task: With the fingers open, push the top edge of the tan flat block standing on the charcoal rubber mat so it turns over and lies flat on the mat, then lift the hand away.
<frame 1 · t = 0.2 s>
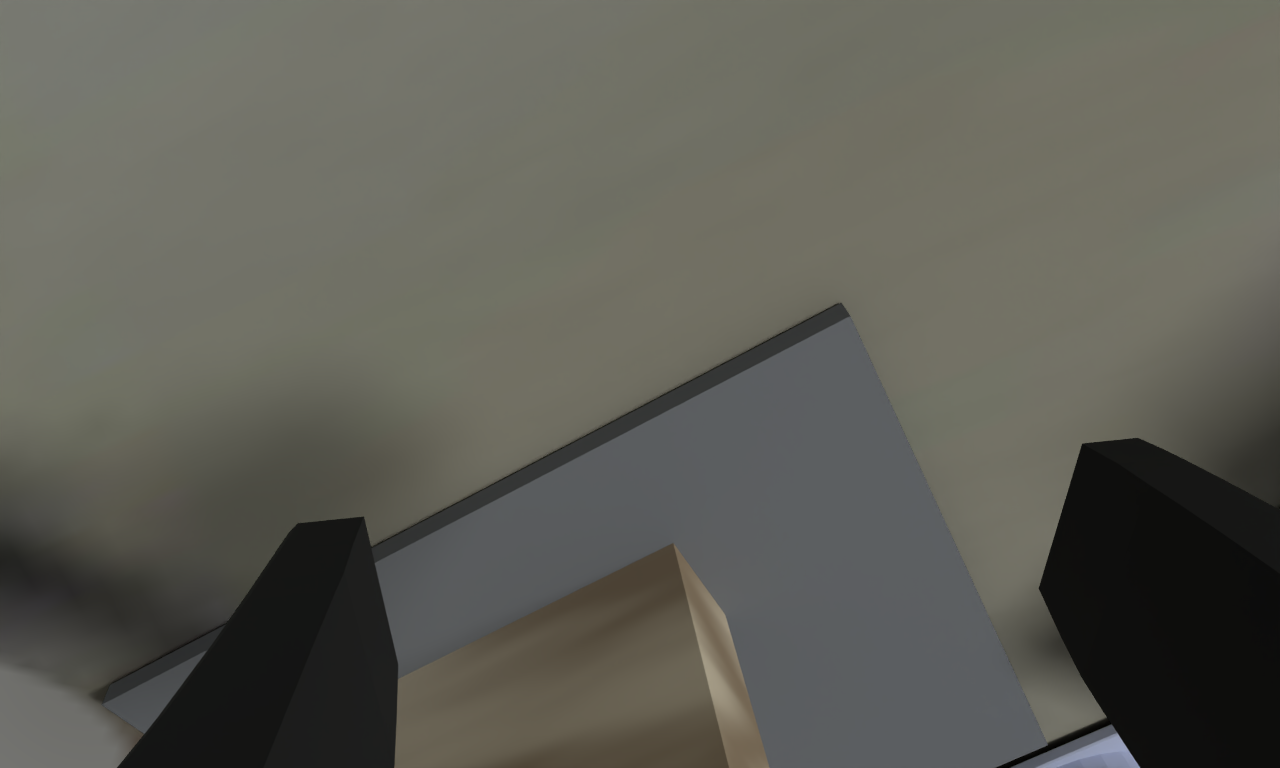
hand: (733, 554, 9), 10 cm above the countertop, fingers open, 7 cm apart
tan flat block: (561, 647, 24), point 1 cm above the countertop, touching mat
mat: (632, 709, 26), on the countertop
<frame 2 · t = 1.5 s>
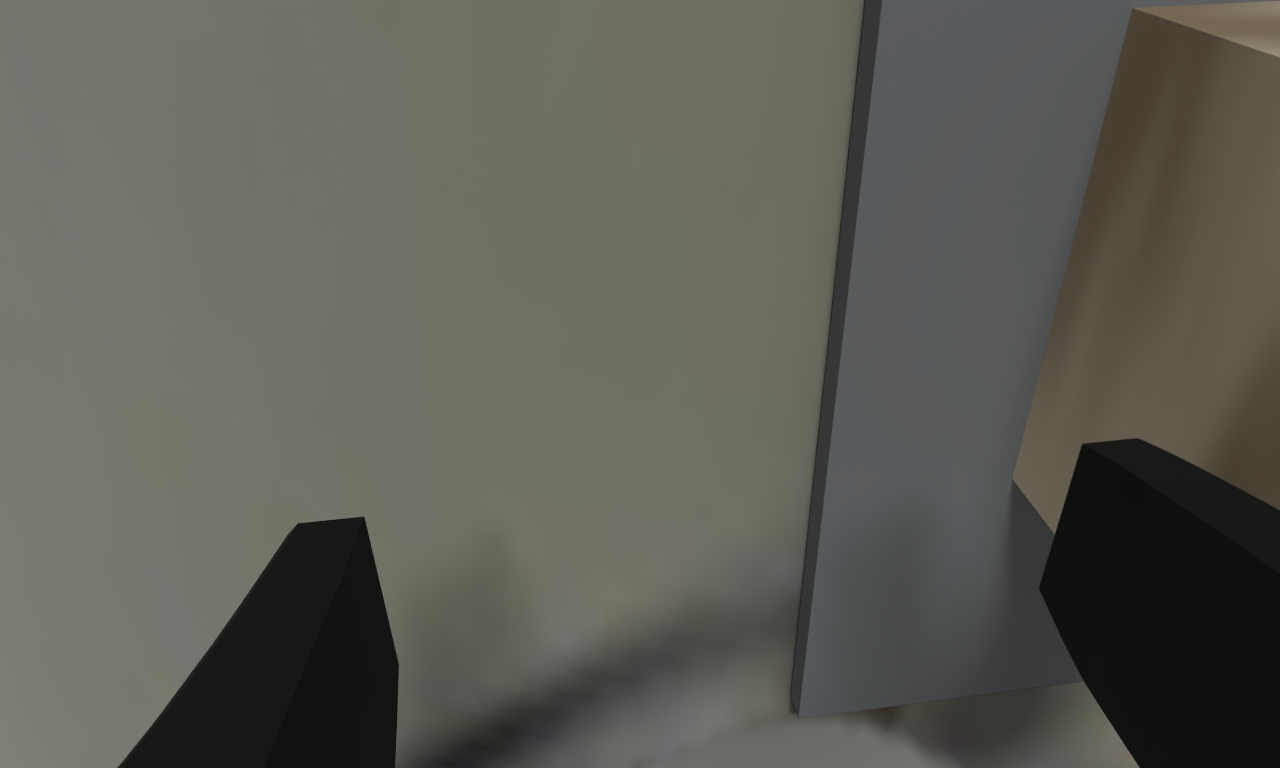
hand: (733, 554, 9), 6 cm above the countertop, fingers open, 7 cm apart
tan flat block: (1152, 271, 15), point 1 cm above the countertop, touching mat
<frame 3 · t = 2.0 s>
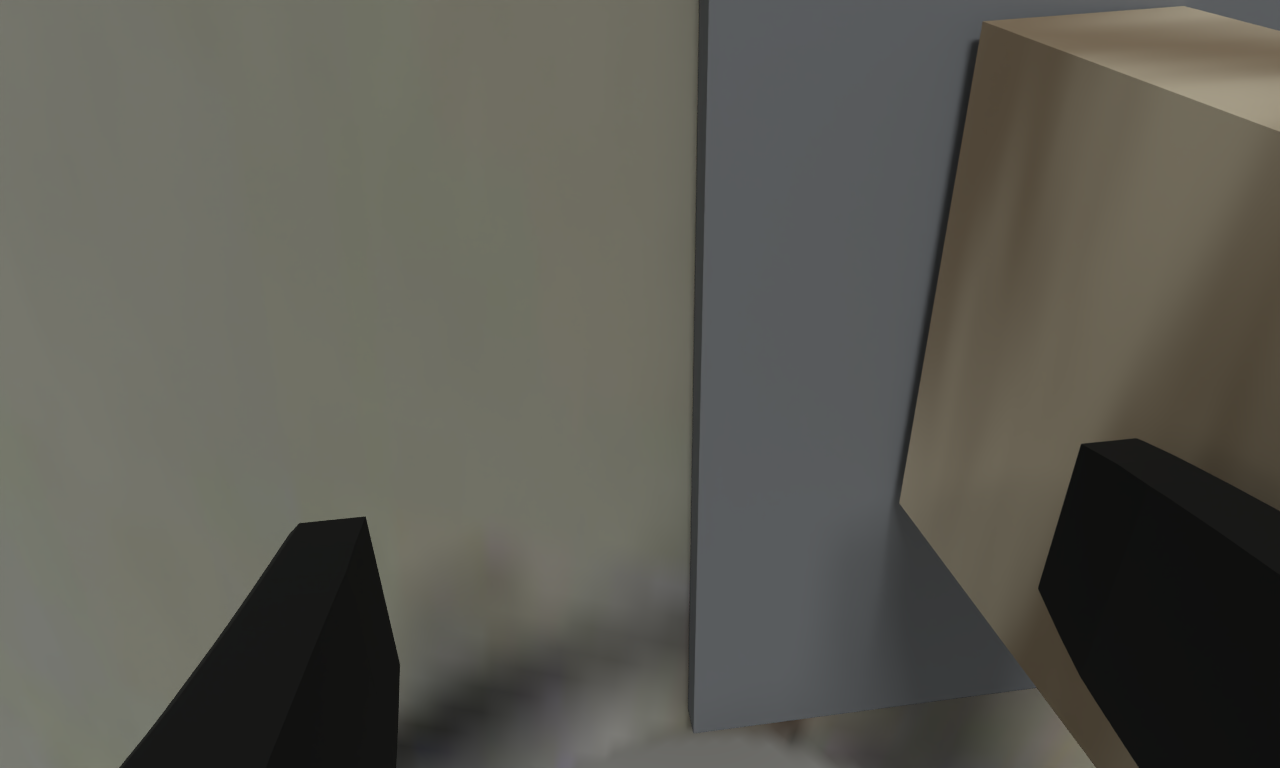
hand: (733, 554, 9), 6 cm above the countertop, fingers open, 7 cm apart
tan flat block: (1022, 287, 14), point 1 cm above the countertop, tilted 6°, touching mat
mat: (1228, 247, 15), on the countertop
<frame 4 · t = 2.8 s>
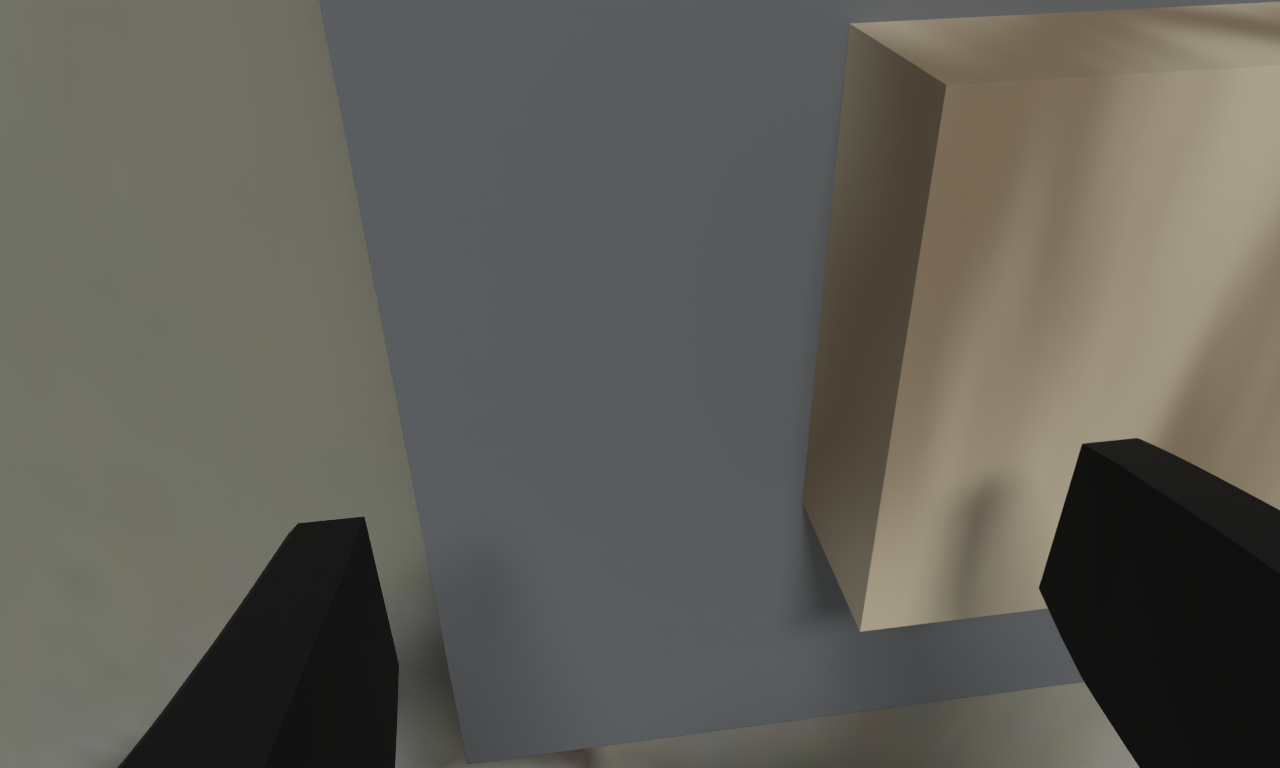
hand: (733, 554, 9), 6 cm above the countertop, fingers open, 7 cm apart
tan flat block: (855, 349, 13), point 2 cm above the countertop, tilted 90°, touching mat
mat: (959, 270, 15), on the countertop
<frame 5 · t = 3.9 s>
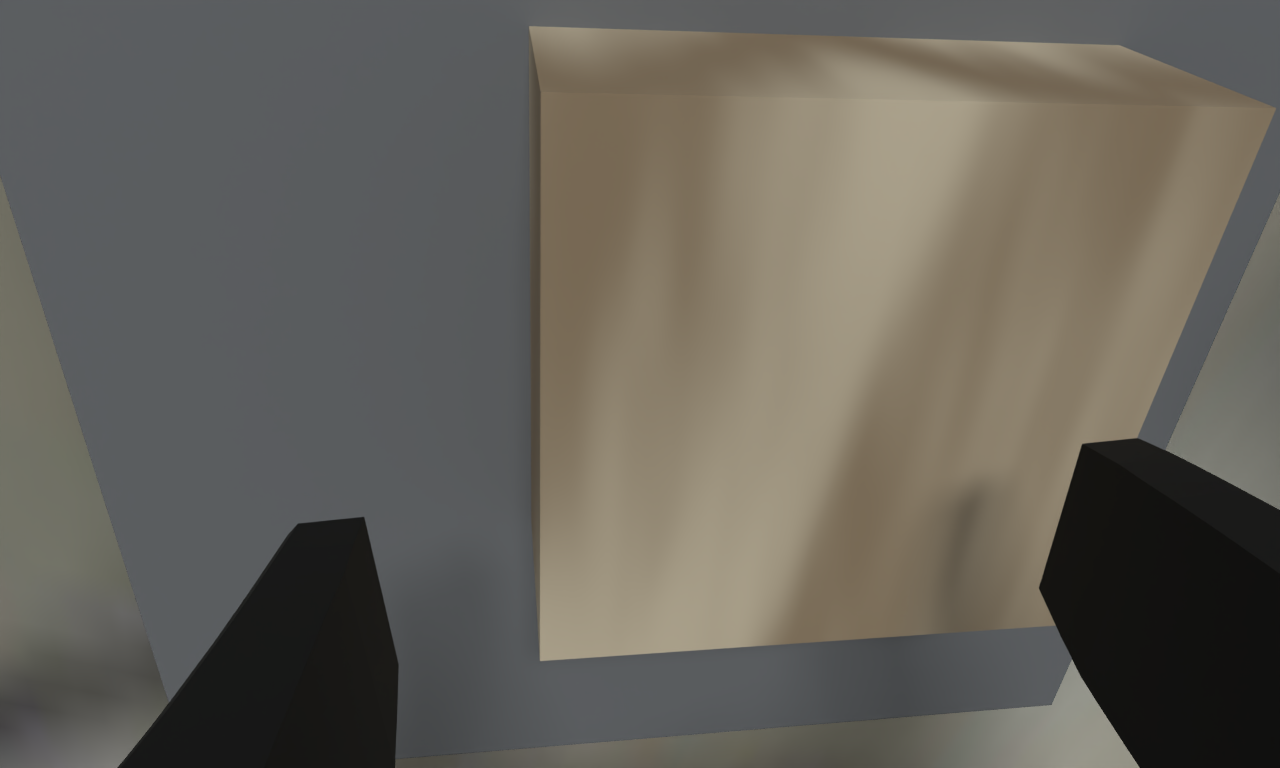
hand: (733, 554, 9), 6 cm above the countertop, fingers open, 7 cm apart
tan flat block: (534, 366, 12), point 2 cm above the countertop, tilted 90°, touching mat
mat: (687, 292, 14), on the countertop
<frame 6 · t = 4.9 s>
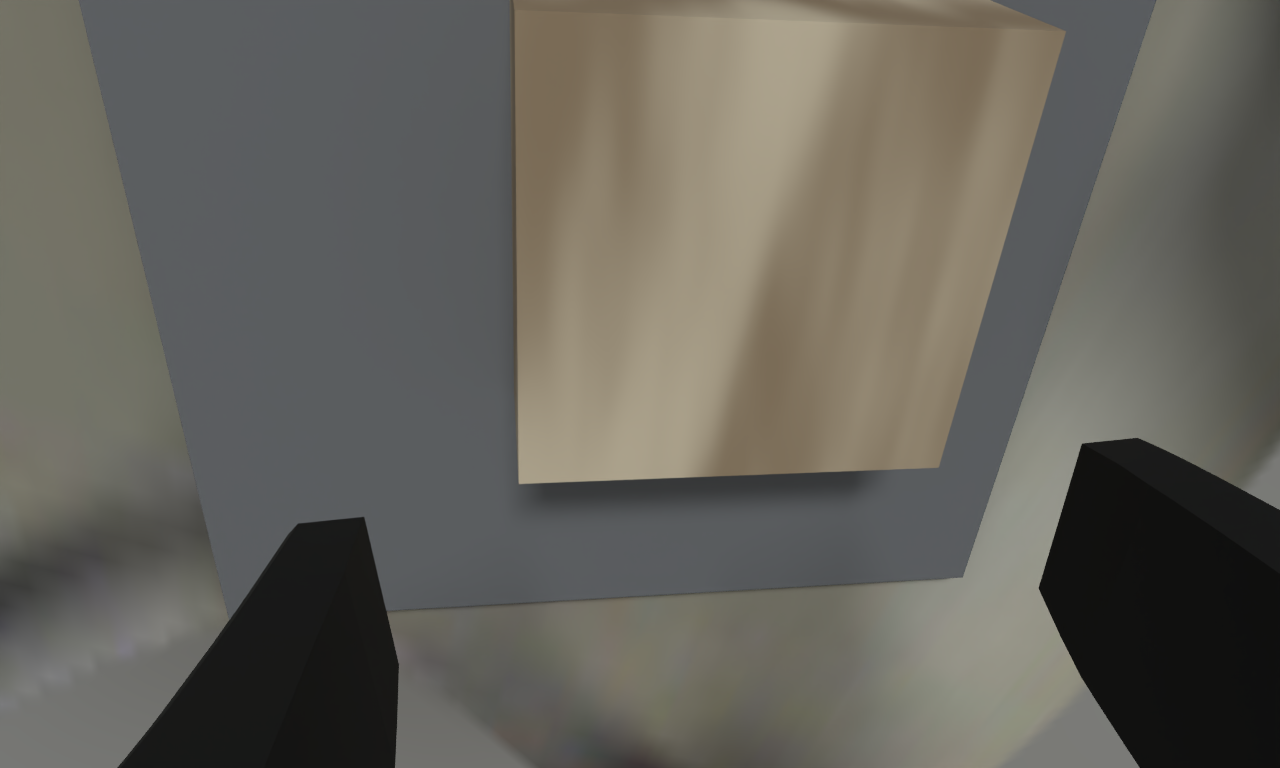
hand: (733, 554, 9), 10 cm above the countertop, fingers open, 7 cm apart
tan flat block: (514, 242, 16), point 2 cm above the countertop, tilted 90°, touching mat
mat: (640, 198, 18), on the countertop
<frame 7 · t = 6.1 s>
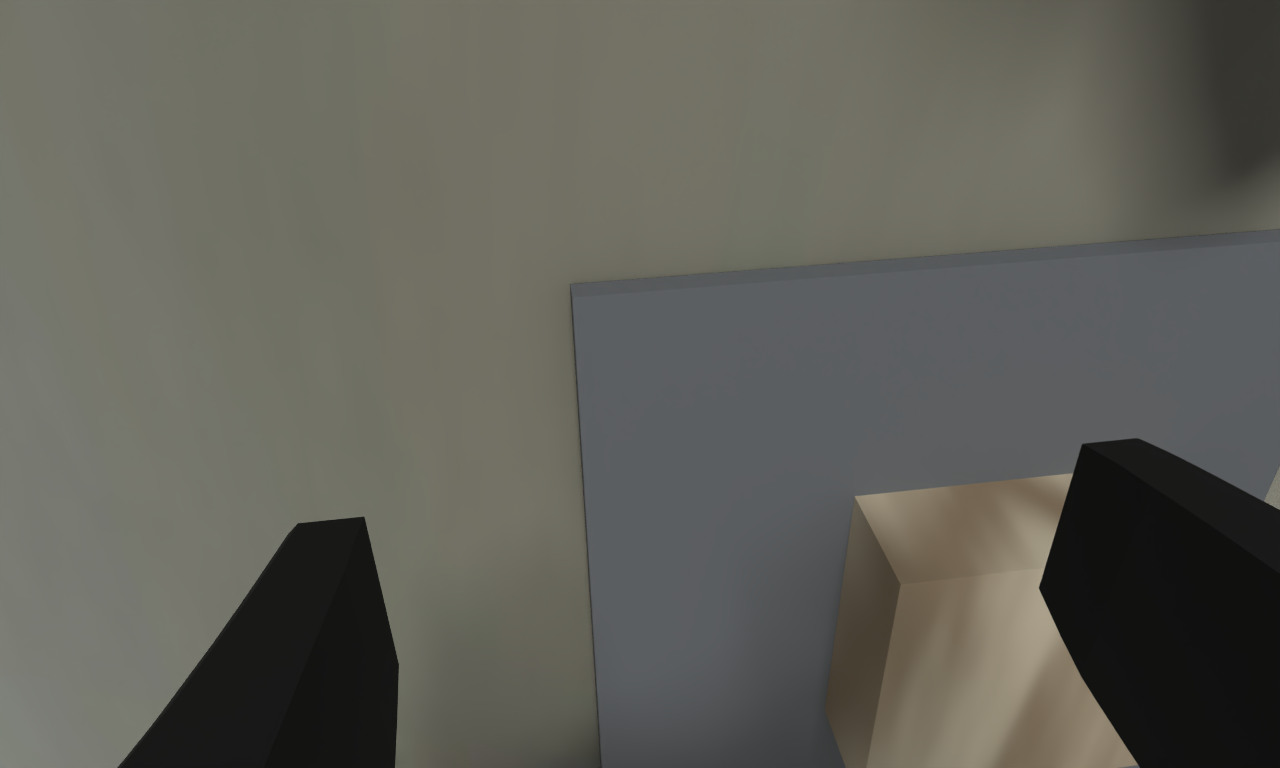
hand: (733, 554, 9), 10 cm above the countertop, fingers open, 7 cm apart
tan flat block: (857, 656, 23), point 2 cm above the countertop, tilted 90°, touching mat
mat: (918, 586, 25), on the countertop
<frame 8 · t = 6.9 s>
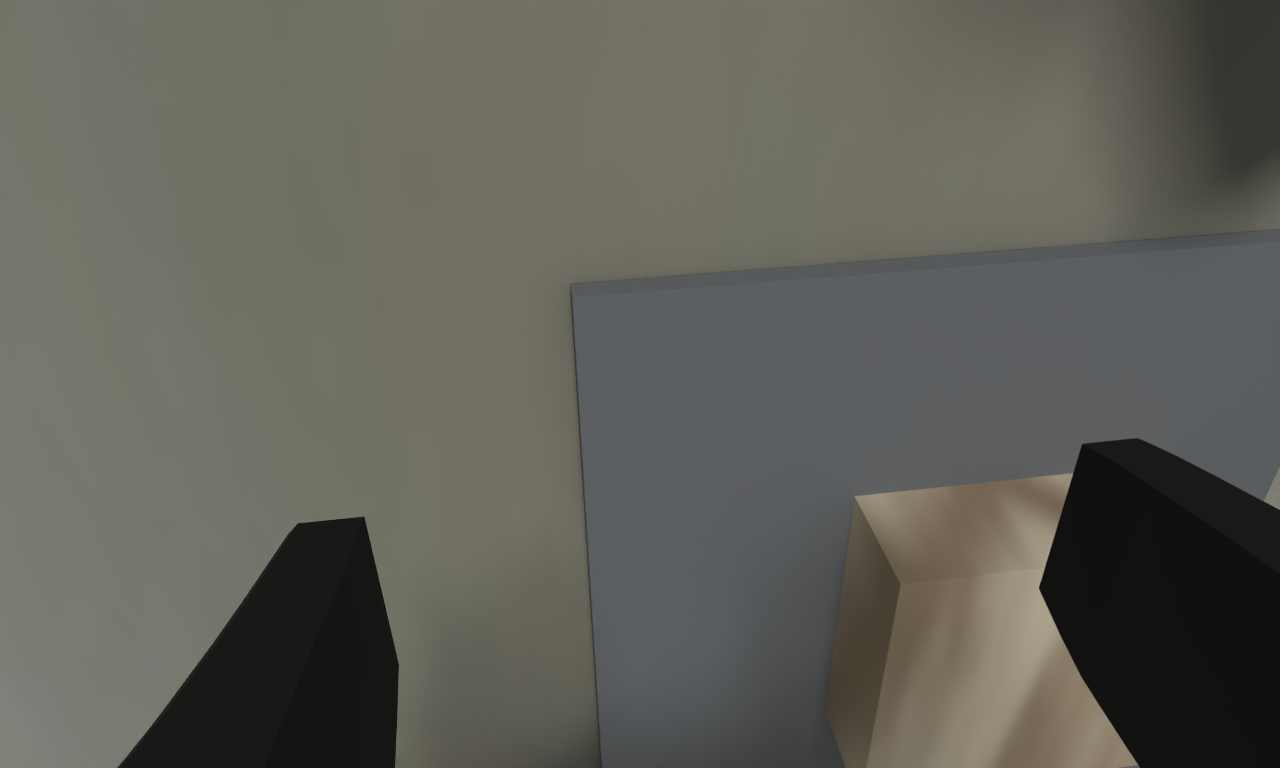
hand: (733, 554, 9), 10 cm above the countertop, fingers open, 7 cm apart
tan flat block: (857, 656, 23), point 2 cm above the countertop, tilted 90°, touching mat
mat: (918, 586, 25), on the countertop
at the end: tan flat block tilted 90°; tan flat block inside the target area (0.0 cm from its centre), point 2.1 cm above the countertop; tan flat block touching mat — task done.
